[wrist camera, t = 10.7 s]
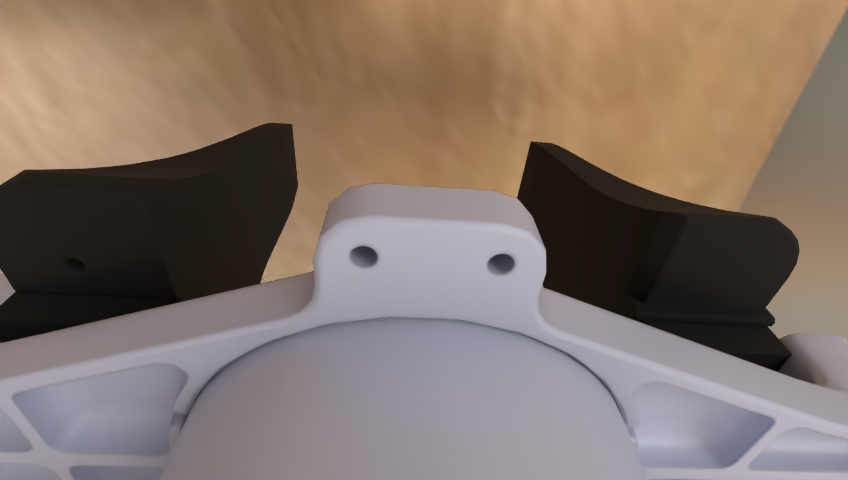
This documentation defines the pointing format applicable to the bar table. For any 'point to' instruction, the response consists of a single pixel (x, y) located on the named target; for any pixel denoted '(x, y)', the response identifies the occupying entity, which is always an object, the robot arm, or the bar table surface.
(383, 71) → the bar table surface
